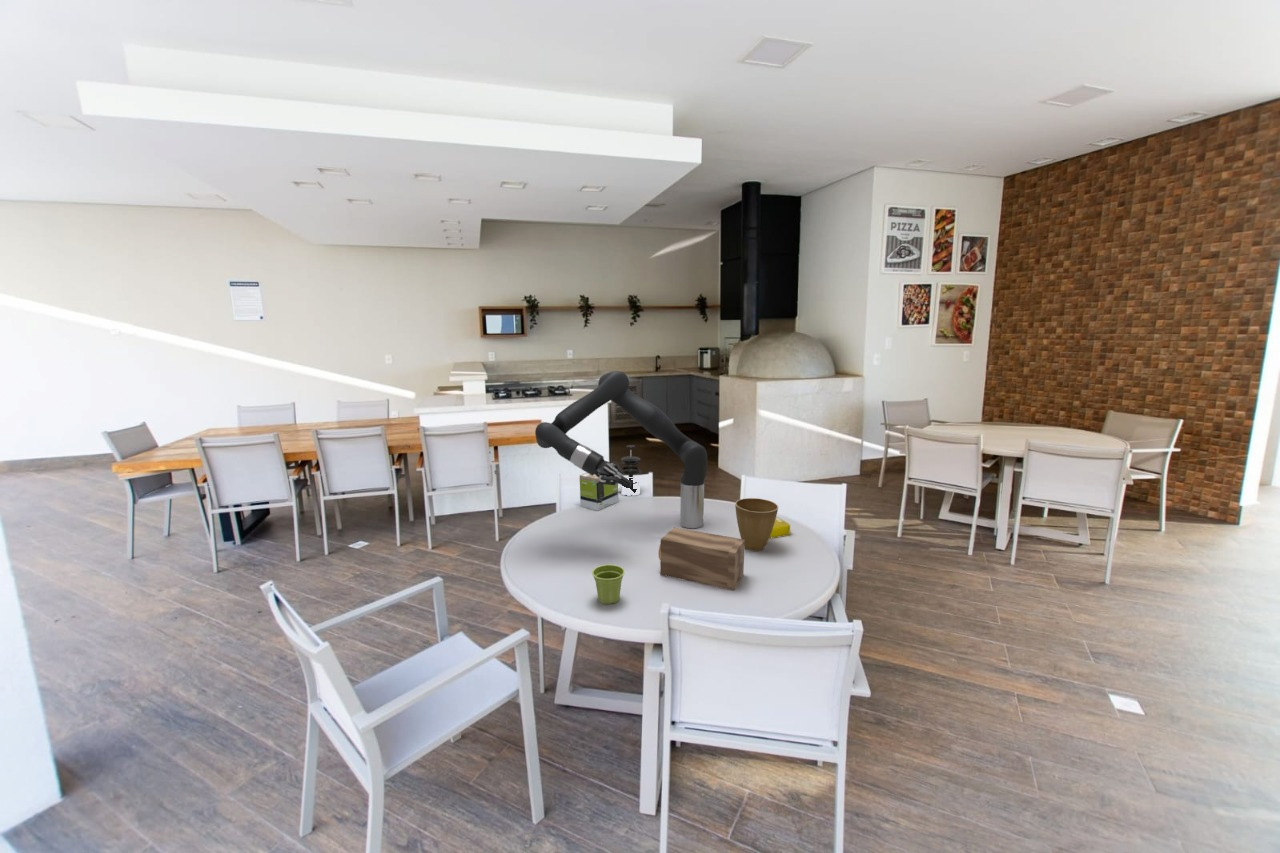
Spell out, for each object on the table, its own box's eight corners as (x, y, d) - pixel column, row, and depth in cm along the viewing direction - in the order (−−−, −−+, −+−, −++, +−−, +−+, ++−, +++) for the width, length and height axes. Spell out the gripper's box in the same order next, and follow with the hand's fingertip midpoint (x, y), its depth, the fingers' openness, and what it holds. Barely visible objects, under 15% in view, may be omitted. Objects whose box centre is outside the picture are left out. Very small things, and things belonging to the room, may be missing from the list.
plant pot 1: (586, 604, 155) (586, 575, 153) (600, 589, 163) (600, 562, 162) (617, 610, 151) (616, 581, 150) (629, 594, 160) (629, 567, 158)
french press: (641, 490, 260) (641, 443, 255) (642, 496, 250) (642, 447, 246) (617, 490, 259) (616, 443, 255) (617, 496, 250) (617, 448, 245)
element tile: (791, 536, 205) (792, 524, 204) (757, 541, 200) (758, 529, 199) (769, 522, 219) (770, 511, 218) (737, 527, 214) (737, 515, 213)
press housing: (673, 560, 183) (673, 527, 180) (743, 575, 173) (744, 539, 170) (660, 574, 173) (660, 539, 170) (733, 590, 163) (735, 553, 160)
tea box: (601, 498, 248) (601, 466, 245) (618, 502, 242) (618, 470, 239) (579, 507, 236) (578, 474, 233) (597, 511, 230) (596, 478, 227)
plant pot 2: (743, 557, 185) (745, 513, 182) (727, 540, 200) (729, 499, 197) (783, 553, 188) (785, 510, 185) (765, 537, 203) (767, 496, 200)
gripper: (582, 459, 176) (627, 486, 174) (598, 443, 188) (641, 468, 186) (574, 476, 180) (619, 503, 178) (590, 459, 191) (633, 484, 189)
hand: (630, 485), depth 182 cm, fingers closed
